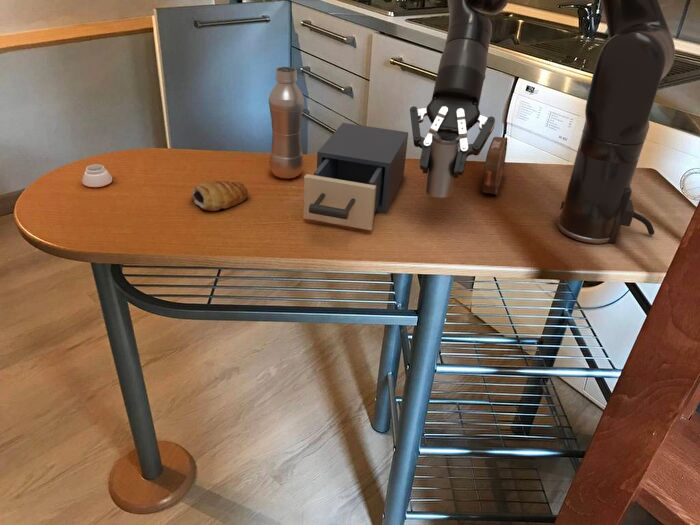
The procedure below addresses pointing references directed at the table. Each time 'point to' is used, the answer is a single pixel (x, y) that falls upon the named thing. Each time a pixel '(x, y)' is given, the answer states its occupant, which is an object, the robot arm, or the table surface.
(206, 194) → the pastry
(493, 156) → the tin
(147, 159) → the table surface
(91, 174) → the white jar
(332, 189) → the drawer
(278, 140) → the metallic bottle
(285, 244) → the table surface
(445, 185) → the steel cylinder
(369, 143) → the cabinet
